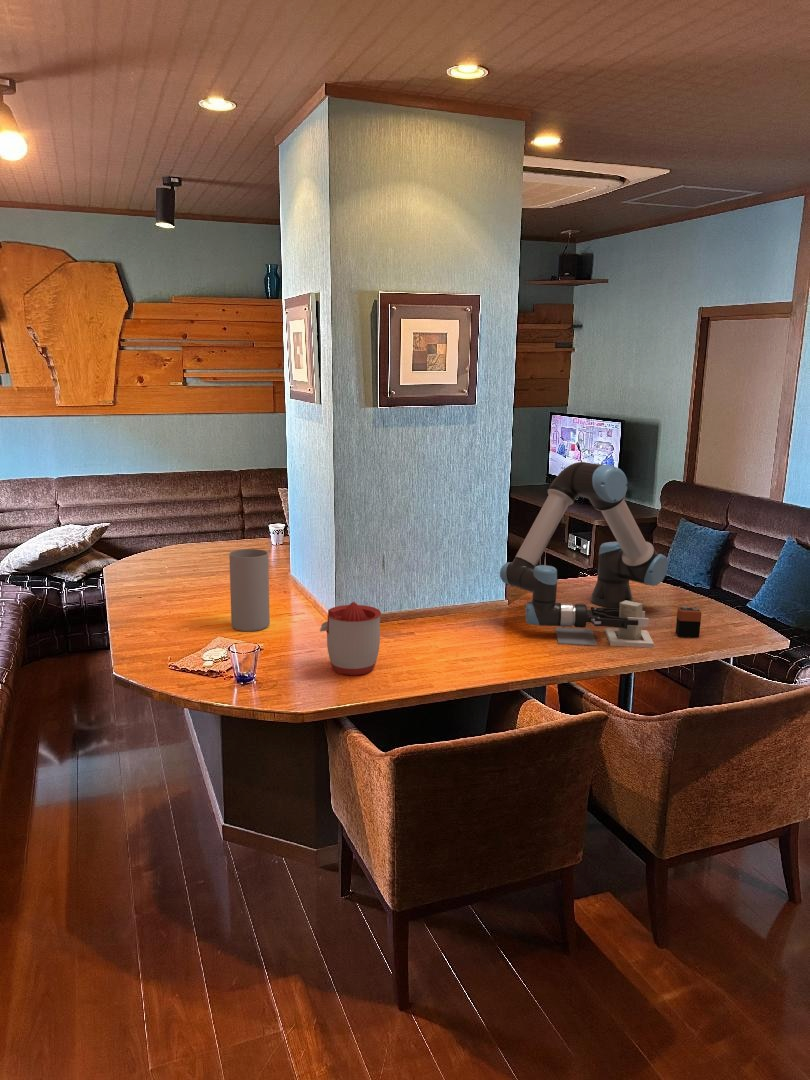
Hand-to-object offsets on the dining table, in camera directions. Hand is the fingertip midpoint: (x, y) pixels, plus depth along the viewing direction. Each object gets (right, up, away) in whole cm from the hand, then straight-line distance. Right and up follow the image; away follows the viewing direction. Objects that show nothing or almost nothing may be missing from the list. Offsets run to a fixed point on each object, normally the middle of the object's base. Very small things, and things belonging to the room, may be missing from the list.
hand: (646, 619), depth 260 cm
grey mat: (-22, -6, +4) cm, 23 cm away
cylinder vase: (-129, -4, +10) cm, 129 cm away
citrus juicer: (-93, -12, -27) cm, 98 cm away
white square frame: (-5, -7, +2) cm, 9 cm away
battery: (+16, -7, +8) cm, 19 cm away
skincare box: (-5, -7, +2) cm, 9 cm away
